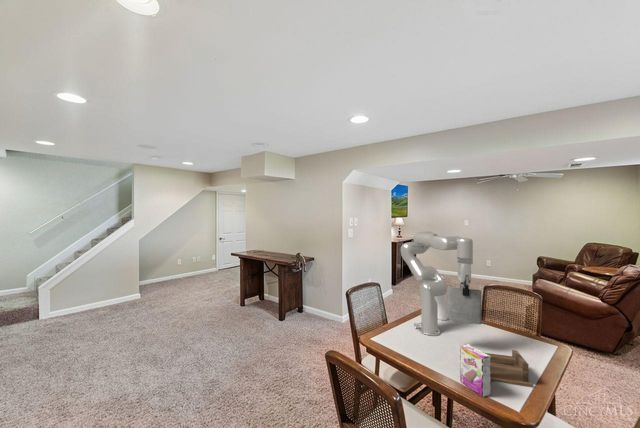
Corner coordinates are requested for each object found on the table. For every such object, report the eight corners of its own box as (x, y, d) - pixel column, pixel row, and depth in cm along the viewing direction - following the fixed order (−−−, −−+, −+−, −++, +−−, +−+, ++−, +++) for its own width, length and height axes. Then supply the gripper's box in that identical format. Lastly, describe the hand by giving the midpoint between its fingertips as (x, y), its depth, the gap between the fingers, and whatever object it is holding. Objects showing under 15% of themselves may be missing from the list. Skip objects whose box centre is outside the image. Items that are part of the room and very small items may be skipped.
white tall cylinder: (449, 321, 184) (449, 278, 184) (434, 320, 187) (434, 277, 187) (447, 316, 193) (446, 275, 193) (432, 315, 196) (432, 274, 196)
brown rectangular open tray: (532, 387, 115) (532, 366, 115) (470, 377, 122) (470, 358, 122) (518, 367, 129) (518, 349, 129) (463, 360, 136) (463, 342, 136)
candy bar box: (459, 381, 119) (459, 345, 119) (467, 379, 121) (467, 343, 121) (482, 398, 108) (482, 358, 108) (491, 395, 110) (491, 355, 110)
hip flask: (481, 322, 143) (481, 285, 143) (482, 325, 140) (482, 287, 140) (448, 317, 150) (448, 282, 150) (448, 320, 147) (448, 283, 147)
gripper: (454, 257, 154) (454, 289, 154) (460, 263, 138) (460, 298, 138) (468, 258, 152) (468, 290, 152) (476, 264, 136) (476, 299, 136)
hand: (464, 293), depth 145 cm, fingers closed on hip flask, 4 cm apart
